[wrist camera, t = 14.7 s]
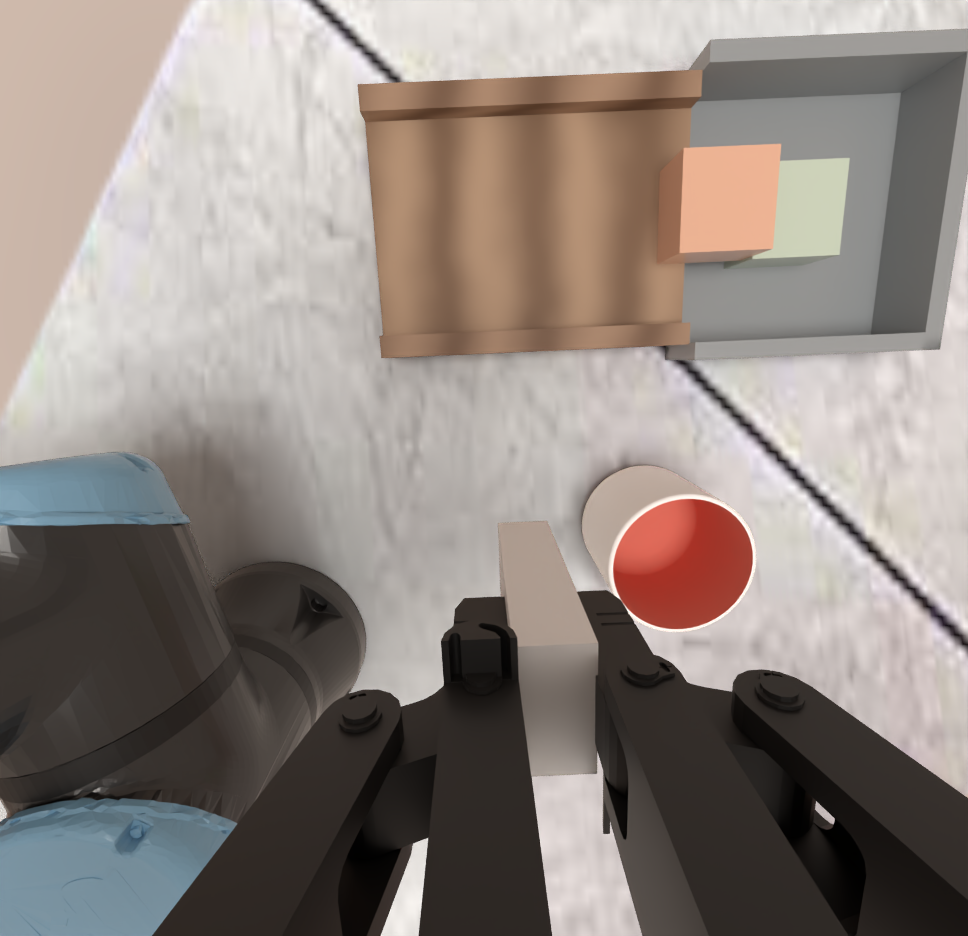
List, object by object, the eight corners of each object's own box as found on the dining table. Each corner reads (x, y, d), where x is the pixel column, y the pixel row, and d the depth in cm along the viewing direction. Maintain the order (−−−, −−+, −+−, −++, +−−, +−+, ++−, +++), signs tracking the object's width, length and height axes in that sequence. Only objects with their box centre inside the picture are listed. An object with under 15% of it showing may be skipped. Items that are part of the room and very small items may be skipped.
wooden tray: (392, 357, 39) (381, 357, 35) (372, 117, 36) (357, 84, 31) (665, 345, 39) (689, 344, 35) (675, 104, 36) (702, 69, 31)
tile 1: (723, 269, 38) (752, 258, 34) (728, 182, 36) (759, 161, 32) (801, 265, 38) (839, 254, 34) (809, 179, 36) (849, 157, 32)
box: (665, 359, 40) (694, 360, 34) (675, 87, 35) (710, 39, 30) (877, 350, 40) (939, 349, 34) (913, 77, 36) (990, 27, 30)
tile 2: (656, 264, 35) (679, 252, 31) (659, 171, 34) (683, 147, 30) (740, 260, 35) (772, 248, 31) (746, 168, 34) (781, 143, 30)
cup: (591, 453, 41) (627, 483, 32) (706, 471, 42) (775, 506, 32) (568, 562, 44) (594, 622, 34) (677, 579, 44) (734, 642, 34)
